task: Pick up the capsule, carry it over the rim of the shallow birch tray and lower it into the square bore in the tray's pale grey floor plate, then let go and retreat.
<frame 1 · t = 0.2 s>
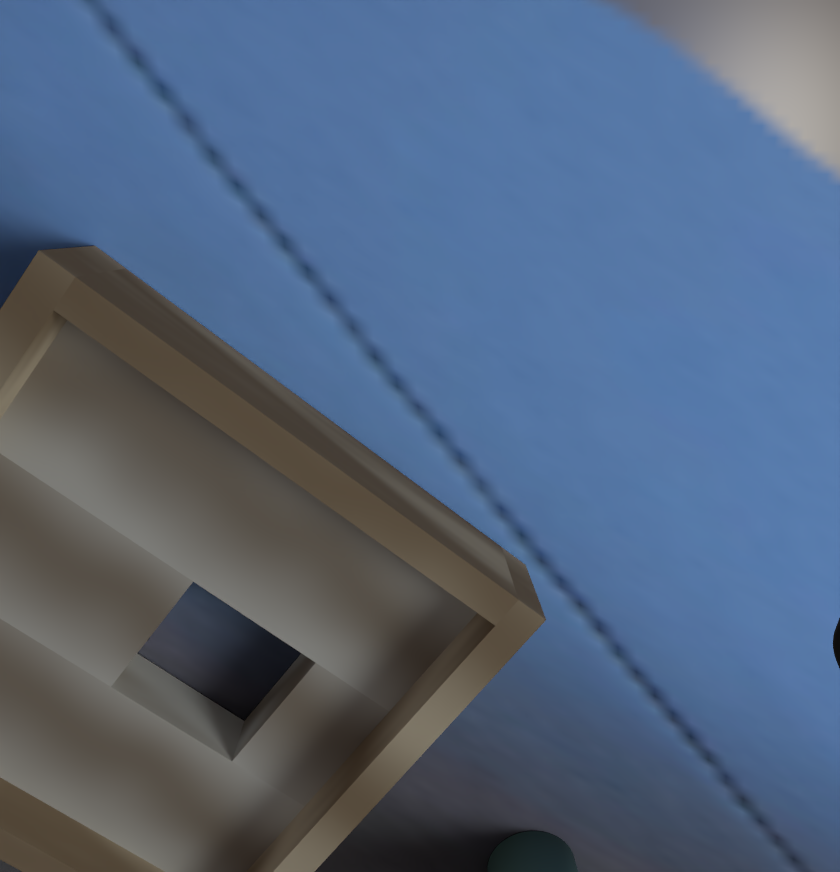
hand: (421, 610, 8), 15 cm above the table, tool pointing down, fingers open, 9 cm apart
tray: (175, 606, 25), on the table
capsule: (531, 867, 28), on the table
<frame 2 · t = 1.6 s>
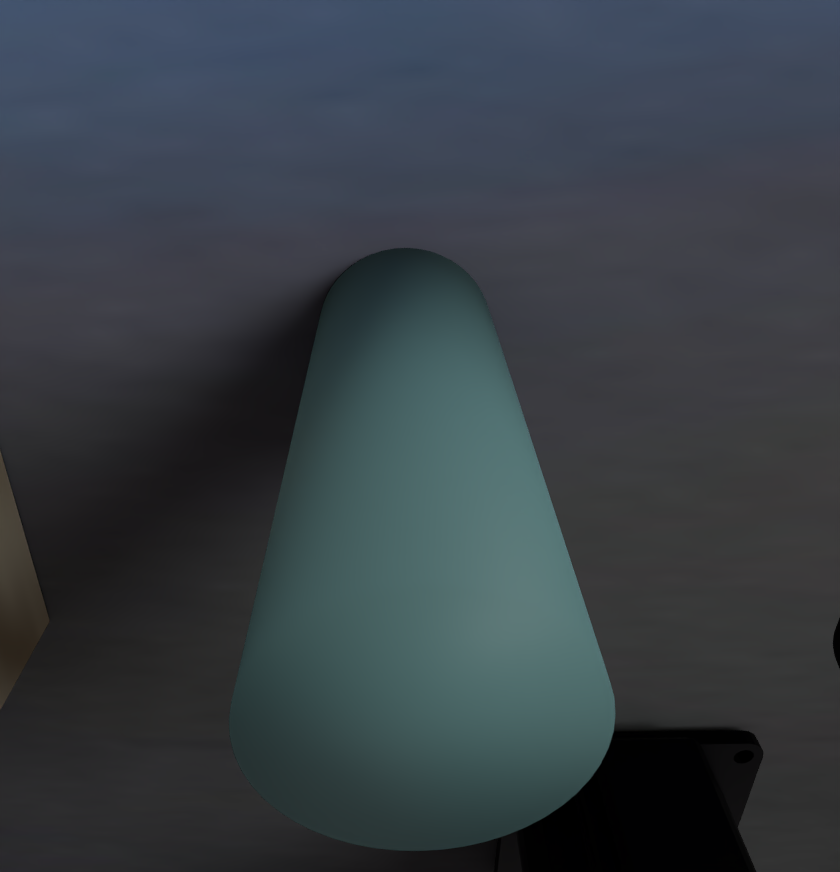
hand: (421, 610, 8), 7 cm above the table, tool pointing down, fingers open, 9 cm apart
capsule: (405, 333, 14), on the table
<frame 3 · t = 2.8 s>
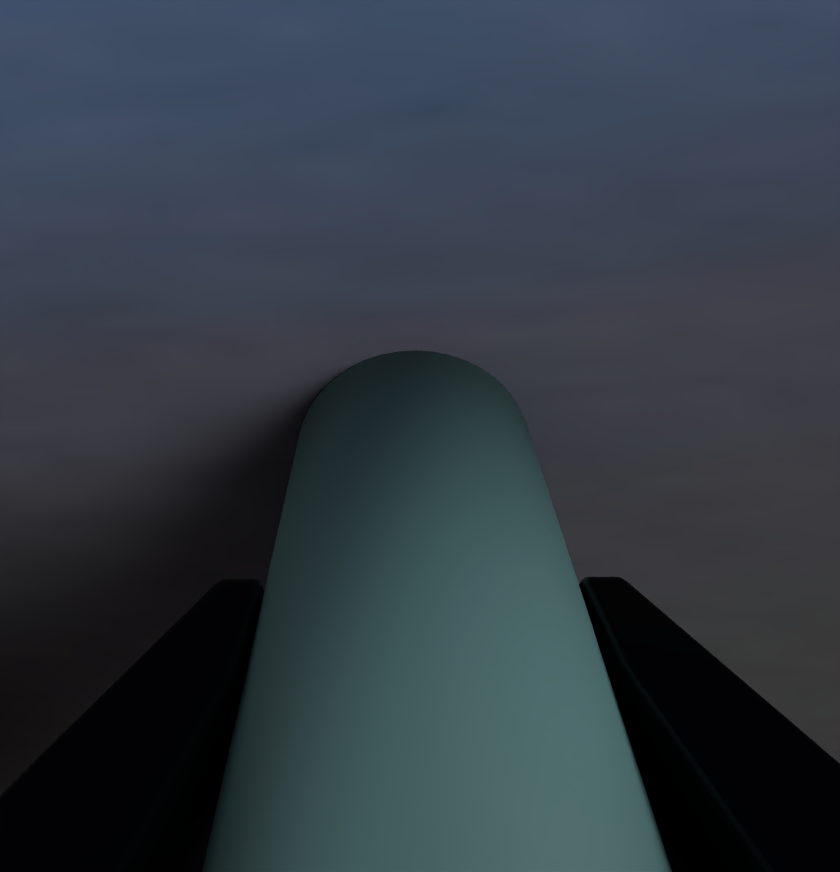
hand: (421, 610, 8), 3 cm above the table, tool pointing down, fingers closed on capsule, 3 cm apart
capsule: (414, 458, 10), on the table, touching gripper
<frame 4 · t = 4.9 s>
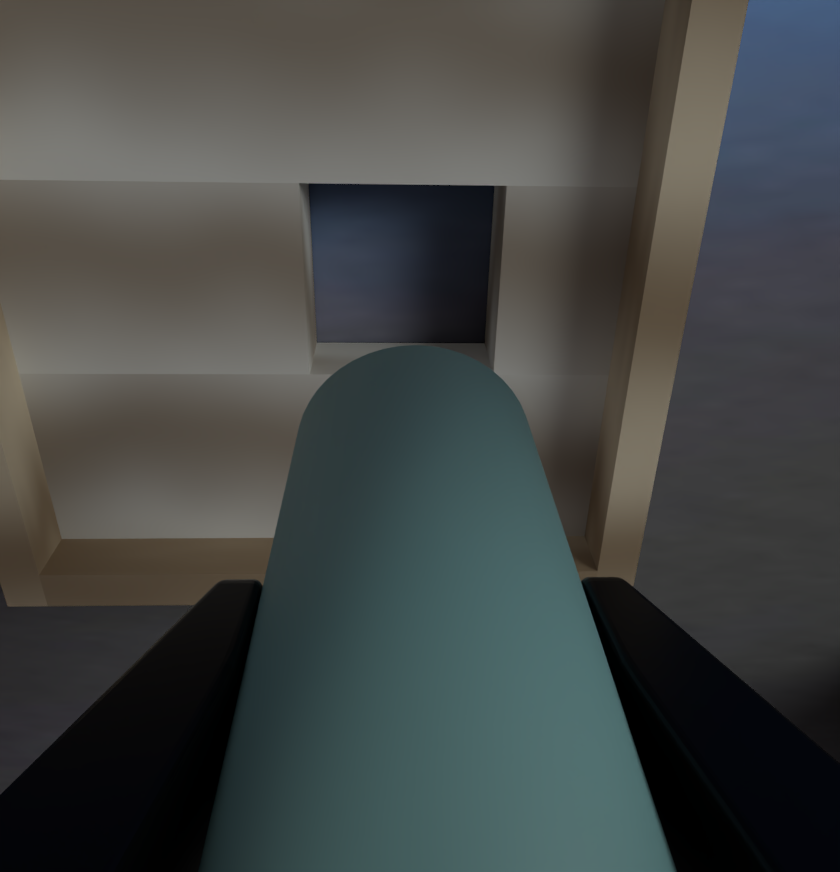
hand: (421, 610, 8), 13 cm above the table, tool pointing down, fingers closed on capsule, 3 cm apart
tray: (320, 259, 19), on the table
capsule: (414, 454, 10), point 10 cm above the table, touching gripper
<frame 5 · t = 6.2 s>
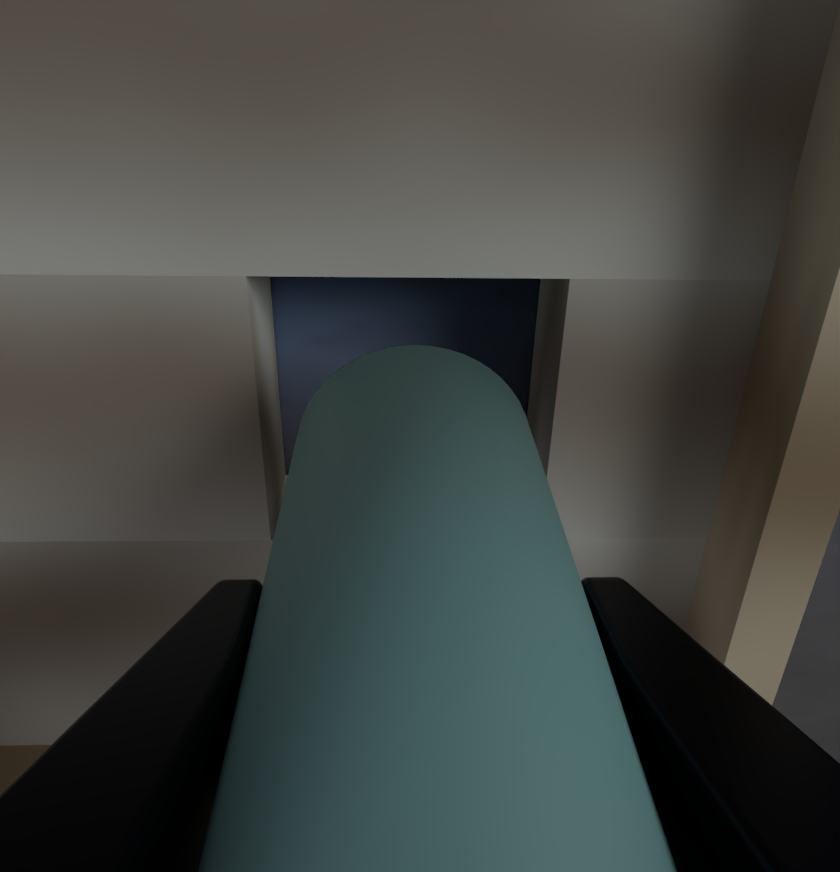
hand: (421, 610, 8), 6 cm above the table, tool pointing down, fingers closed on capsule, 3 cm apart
tray: (288, 366, 13), on the table
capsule: (414, 454, 10), point 3 cm above the table, touching gripper
when the fingers open (4 cm above the table, at t = 7.0 s): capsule drops 1 cm, resting in tray.
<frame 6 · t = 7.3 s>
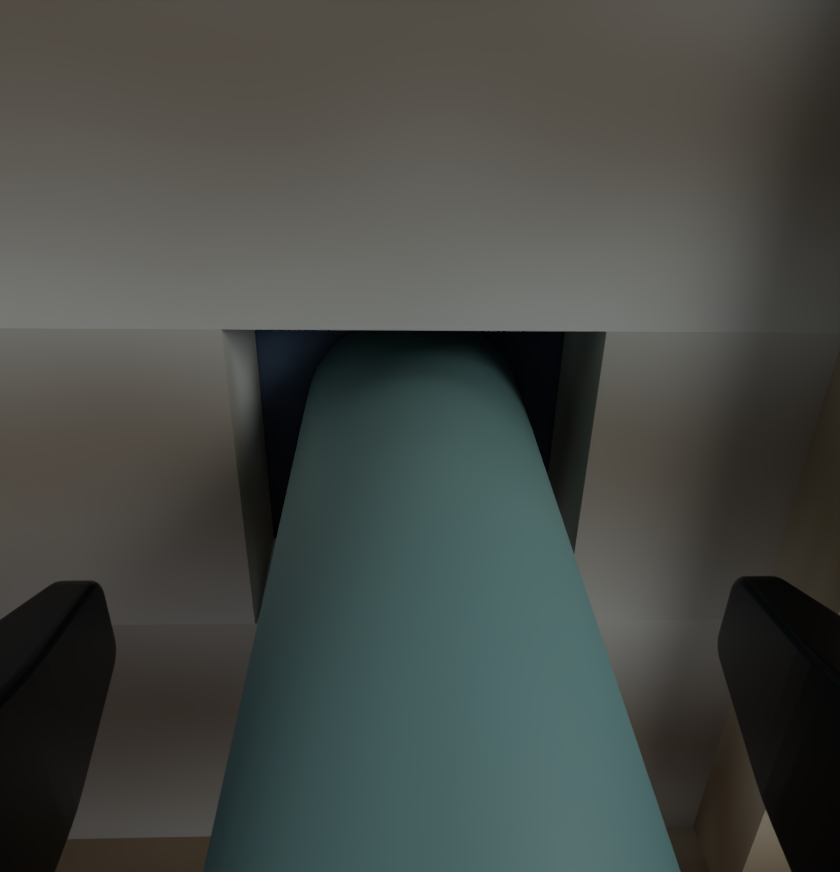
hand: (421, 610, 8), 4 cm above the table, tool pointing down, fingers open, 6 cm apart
tray: (276, 419, 11), on the table
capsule: (413, 413, 11), resting in tray
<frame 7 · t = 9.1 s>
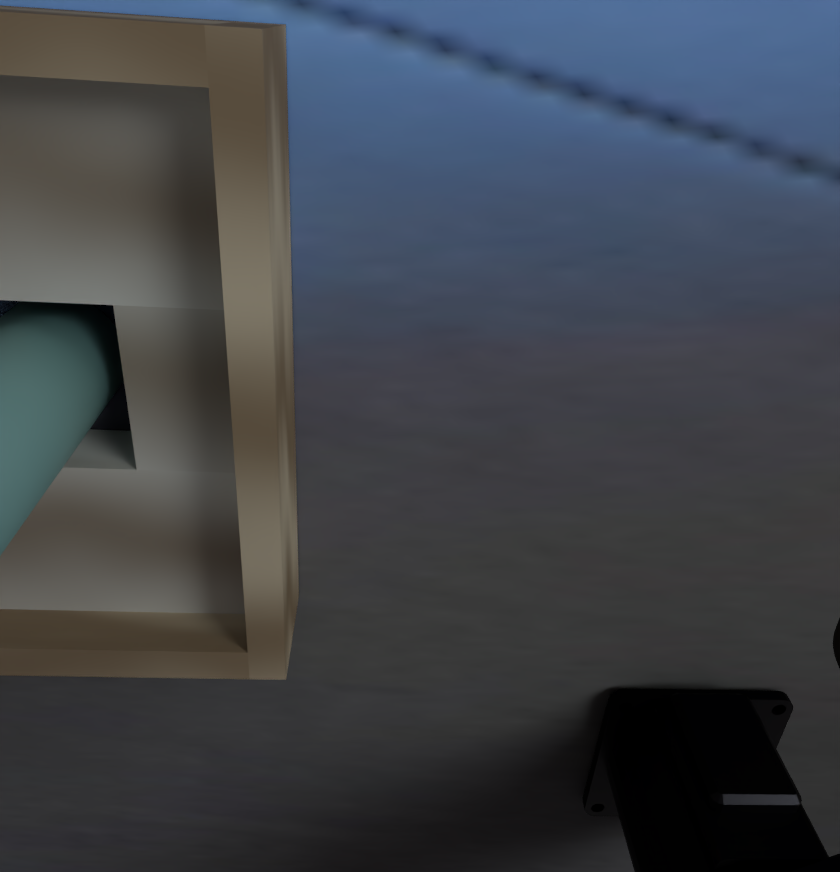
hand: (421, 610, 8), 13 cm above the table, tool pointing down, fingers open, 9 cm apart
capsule: (64, 351, 20), resting in tray
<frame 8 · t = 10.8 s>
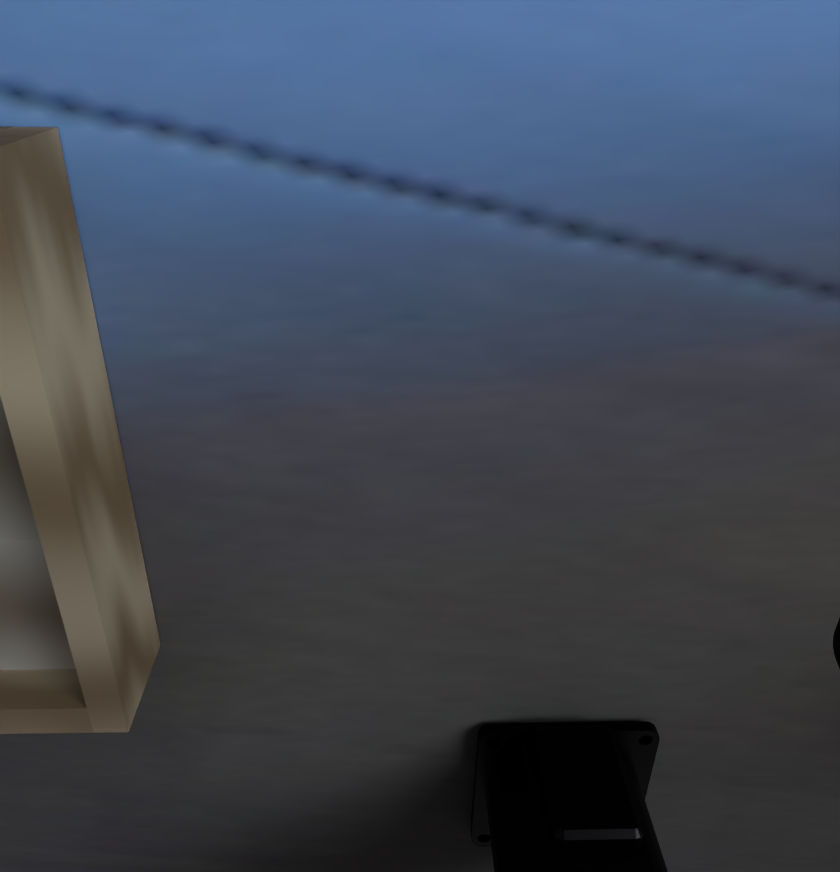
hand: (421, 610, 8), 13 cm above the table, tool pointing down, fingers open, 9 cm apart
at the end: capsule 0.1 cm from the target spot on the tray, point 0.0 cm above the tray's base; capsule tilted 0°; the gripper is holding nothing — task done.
